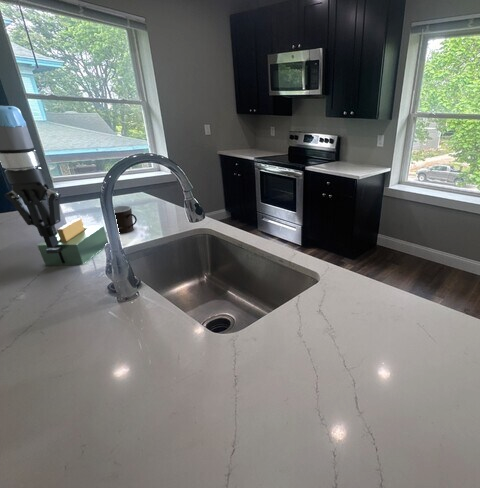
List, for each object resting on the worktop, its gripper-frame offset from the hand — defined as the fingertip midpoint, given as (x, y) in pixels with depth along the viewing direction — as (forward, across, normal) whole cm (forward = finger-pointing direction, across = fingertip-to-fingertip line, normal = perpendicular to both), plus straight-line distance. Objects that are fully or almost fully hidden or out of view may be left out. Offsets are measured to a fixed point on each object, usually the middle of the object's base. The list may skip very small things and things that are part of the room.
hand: (53, 245), depth 91 cm
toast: (+8, 0, -10) cm, 12 cm away
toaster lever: (+2, 0, 0) cm, 2 cm away
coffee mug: (+9, -6, -30) cm, 31 cm away
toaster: (+9, 0, -10) cm, 13 cm away
